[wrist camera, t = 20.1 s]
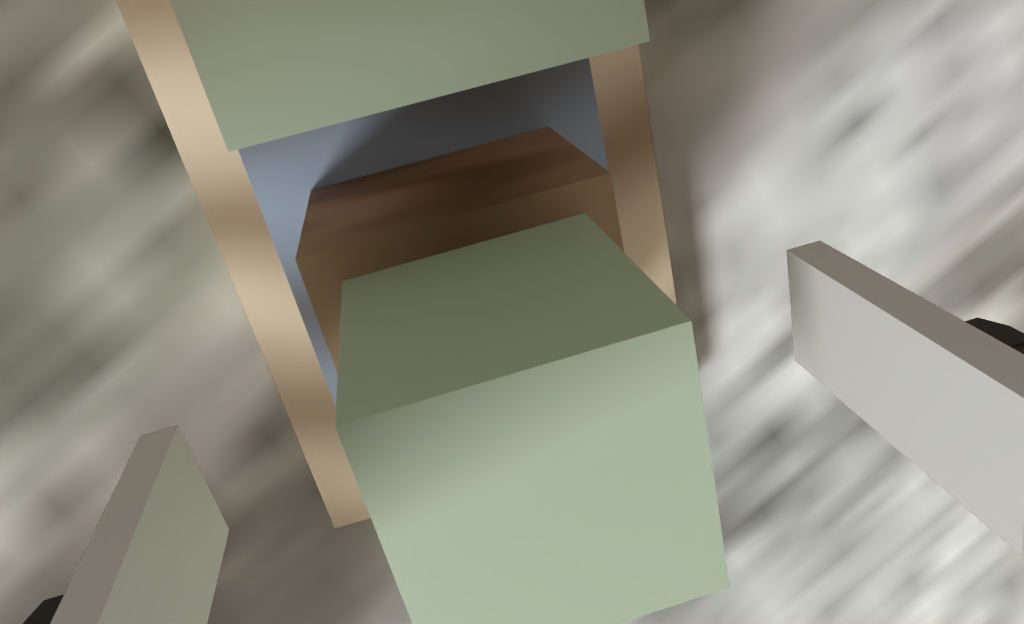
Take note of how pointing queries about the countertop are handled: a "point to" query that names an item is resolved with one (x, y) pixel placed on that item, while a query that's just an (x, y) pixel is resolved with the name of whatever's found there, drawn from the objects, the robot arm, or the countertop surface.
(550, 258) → the sage block
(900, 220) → the countertop surface
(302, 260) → the walnut block
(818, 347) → the robot arm
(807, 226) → the countertop surface
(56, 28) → the countertop surface
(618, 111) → the blueprint board
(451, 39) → the tower
